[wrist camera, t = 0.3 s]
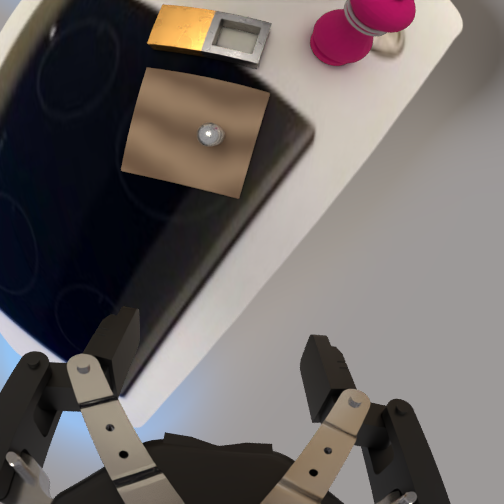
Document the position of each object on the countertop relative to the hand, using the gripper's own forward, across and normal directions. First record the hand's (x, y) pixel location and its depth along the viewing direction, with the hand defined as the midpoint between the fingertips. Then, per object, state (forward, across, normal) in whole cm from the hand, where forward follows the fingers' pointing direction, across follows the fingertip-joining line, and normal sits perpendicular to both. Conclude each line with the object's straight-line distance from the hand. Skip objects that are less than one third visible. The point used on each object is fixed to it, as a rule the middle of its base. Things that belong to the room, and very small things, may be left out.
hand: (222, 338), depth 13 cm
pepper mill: (+28, -9, -24) cm, 38 cm away
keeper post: (+26, +4, -8) cm, 28 cm away
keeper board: (+28, +7, -8) cm, 30 cm away
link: (+28, +7, -22) cm, 36 cm away
